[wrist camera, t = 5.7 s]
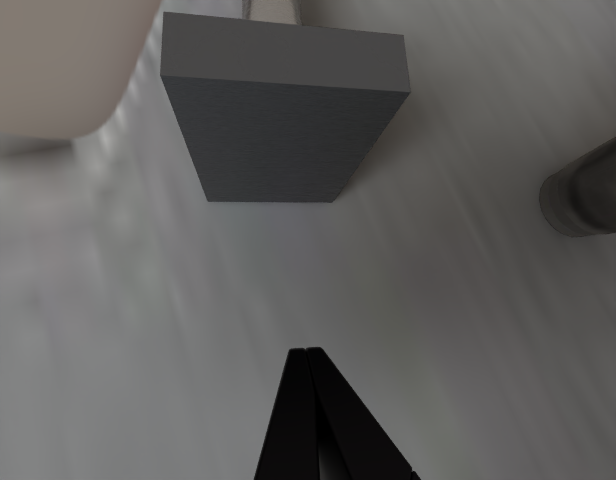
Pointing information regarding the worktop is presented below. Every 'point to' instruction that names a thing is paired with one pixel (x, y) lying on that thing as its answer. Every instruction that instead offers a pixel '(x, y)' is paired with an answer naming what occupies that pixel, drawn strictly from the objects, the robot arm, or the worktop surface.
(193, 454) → the worktop surface
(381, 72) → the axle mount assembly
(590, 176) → the beverage cup
